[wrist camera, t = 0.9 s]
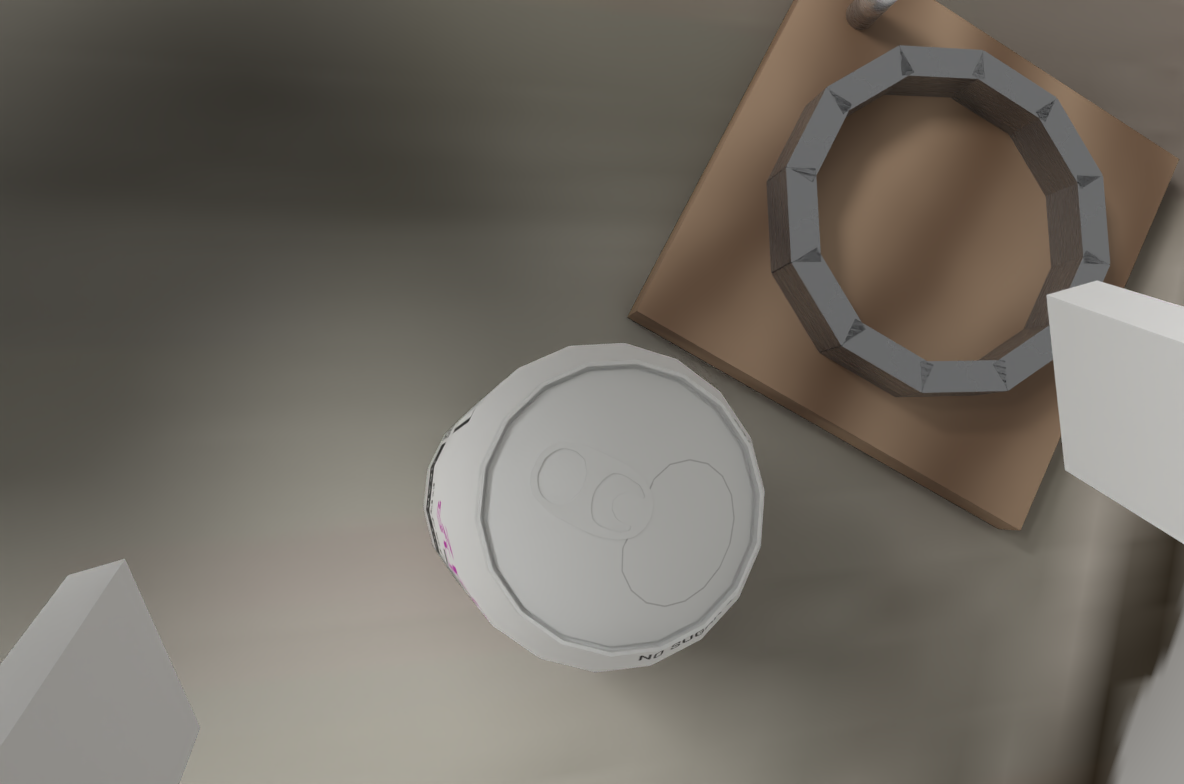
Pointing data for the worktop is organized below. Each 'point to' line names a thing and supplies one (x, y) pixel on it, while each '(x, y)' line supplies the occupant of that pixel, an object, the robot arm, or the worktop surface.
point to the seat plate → (895, 252)
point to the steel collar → (1041, 145)
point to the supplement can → (598, 506)
